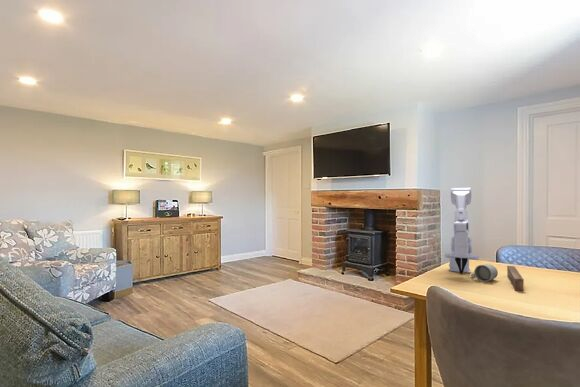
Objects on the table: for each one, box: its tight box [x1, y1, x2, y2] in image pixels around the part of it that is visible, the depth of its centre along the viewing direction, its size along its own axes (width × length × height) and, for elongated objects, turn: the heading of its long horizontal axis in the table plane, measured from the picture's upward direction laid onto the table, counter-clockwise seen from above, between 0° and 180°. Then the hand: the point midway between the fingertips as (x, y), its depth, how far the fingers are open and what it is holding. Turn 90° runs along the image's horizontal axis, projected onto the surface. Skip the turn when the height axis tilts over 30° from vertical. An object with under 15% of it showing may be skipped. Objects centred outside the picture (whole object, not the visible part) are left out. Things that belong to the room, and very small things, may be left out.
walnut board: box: [506, 265, 525, 292], centre depth 147 cm, size 3×26×5 cm, turn 152°
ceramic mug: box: [470, 263, 499, 283], centre depth 154 cm, size 11×8×8 cm
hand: (461, 273), depth 158 cm, fingers closed
